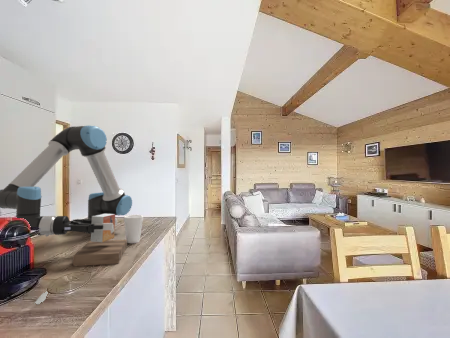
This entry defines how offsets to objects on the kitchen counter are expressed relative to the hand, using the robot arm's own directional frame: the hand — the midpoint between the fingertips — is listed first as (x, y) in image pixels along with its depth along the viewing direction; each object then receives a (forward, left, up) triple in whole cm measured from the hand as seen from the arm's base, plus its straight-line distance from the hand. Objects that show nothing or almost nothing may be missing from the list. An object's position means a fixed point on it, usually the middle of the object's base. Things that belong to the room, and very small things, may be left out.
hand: (114, 224), depth 105 cm
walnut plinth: (0, -4, -13) cm, 14 cm away
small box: (0, -4, -7) cm, 8 cm away
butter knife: (+24, -13, -14) cm, 31 cm away
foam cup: (-21, +5, -14) cm, 26 cm away
